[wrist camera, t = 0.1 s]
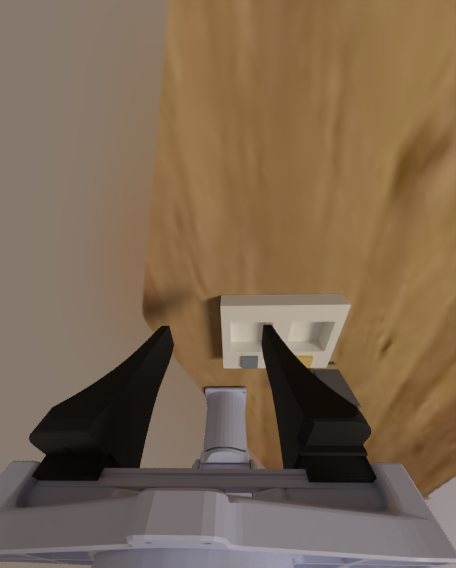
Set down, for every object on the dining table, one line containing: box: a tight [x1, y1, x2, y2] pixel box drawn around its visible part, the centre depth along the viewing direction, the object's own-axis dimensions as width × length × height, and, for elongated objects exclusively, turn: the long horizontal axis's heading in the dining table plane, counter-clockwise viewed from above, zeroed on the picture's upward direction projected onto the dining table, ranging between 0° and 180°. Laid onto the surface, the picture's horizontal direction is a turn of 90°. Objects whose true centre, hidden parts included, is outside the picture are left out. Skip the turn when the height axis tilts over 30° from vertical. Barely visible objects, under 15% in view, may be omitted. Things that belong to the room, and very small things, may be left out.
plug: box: [308, 362, 361, 409], centre depth 28 cm, size 4×4×7 cm
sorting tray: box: [220, 294, 351, 369], centre depth 25 cm, size 12×16×3 cm
